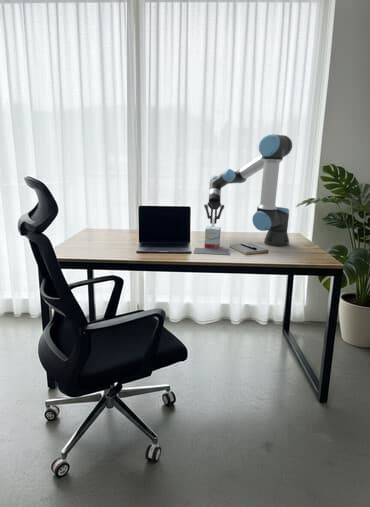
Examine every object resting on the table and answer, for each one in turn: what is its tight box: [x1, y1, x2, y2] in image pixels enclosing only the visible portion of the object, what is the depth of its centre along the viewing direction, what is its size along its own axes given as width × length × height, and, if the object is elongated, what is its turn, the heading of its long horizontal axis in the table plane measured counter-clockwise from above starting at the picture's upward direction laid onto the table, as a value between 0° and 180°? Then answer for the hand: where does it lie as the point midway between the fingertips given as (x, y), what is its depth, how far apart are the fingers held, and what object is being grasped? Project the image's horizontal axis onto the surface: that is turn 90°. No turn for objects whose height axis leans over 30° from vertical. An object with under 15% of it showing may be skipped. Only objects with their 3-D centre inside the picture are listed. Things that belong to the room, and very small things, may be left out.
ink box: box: [203, 225, 222, 249], centre depth 219 cm, size 9×9×12 cm
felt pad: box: [193, 247, 231, 256], centre depth 210 cm, size 20×12×1 cm, turn 84°
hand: (213, 227), depth 226 cm, fingers closed
